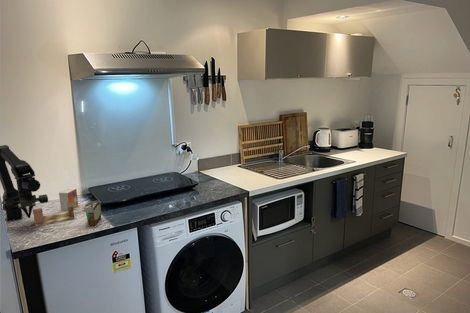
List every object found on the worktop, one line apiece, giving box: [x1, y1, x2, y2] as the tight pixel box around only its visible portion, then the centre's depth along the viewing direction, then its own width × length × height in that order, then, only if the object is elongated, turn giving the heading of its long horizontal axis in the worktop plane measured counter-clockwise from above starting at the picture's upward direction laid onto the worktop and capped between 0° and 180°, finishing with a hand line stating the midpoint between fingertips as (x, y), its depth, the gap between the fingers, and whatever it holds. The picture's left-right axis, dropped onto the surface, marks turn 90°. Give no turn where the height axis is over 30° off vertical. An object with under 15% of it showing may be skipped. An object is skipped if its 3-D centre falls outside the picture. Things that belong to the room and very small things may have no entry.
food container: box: [83, 200, 102, 227], centre depth 173 cm, size 12×6×10 cm, turn 5°
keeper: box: [32, 207, 44, 225], centre depth 174 cm, size 4×6×6 cm, turn 32°
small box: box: [58, 188, 79, 211], centre depth 195 cm, size 8×6×10 cm
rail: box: [34, 202, 76, 228], centre depth 178 cm, size 18×8×7 cm, turn 122°
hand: (29, 217), depth 172 cm, fingers closed
